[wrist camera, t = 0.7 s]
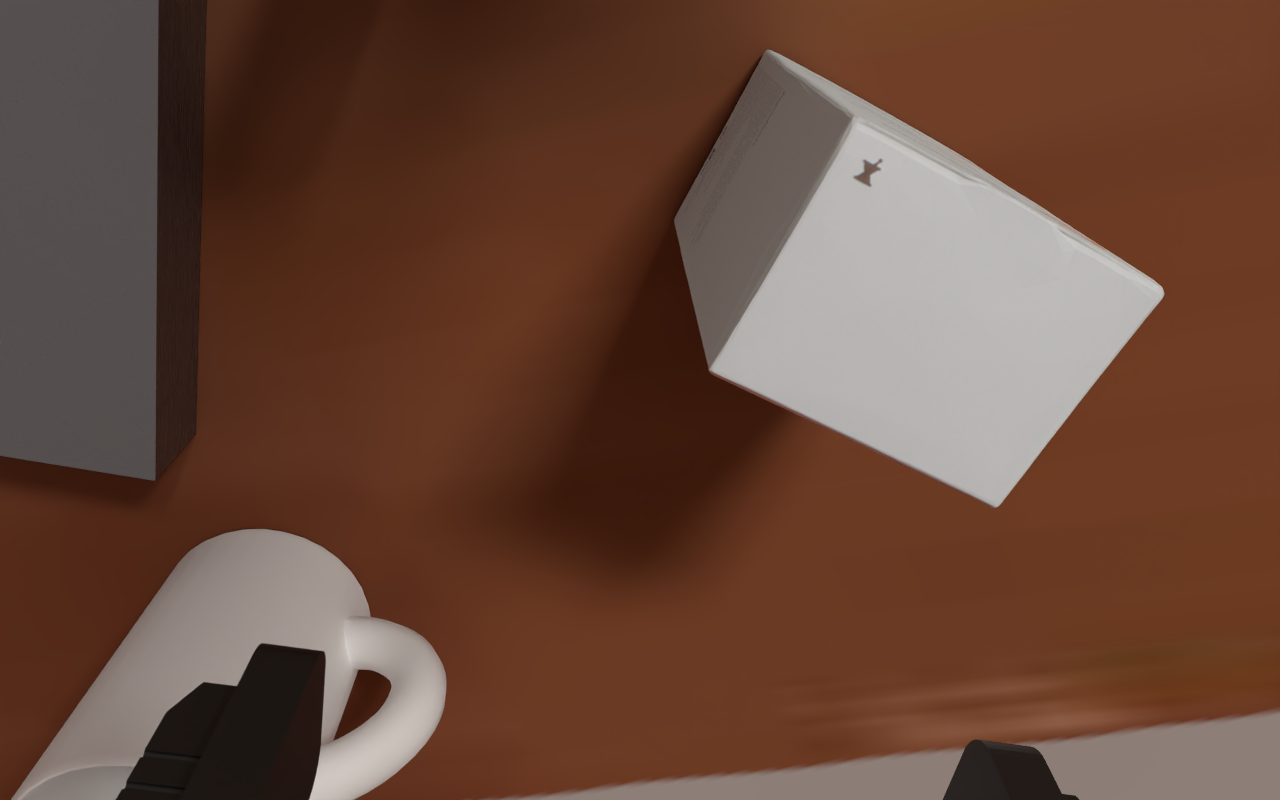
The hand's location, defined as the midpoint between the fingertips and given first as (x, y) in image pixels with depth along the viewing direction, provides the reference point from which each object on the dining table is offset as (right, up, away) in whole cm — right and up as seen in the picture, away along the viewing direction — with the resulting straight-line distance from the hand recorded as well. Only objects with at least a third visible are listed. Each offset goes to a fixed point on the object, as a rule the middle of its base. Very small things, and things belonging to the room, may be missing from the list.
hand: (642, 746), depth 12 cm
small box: (+6, +11, +21) cm, 25 cm away
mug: (-13, -4, +28) cm, 31 cm away
